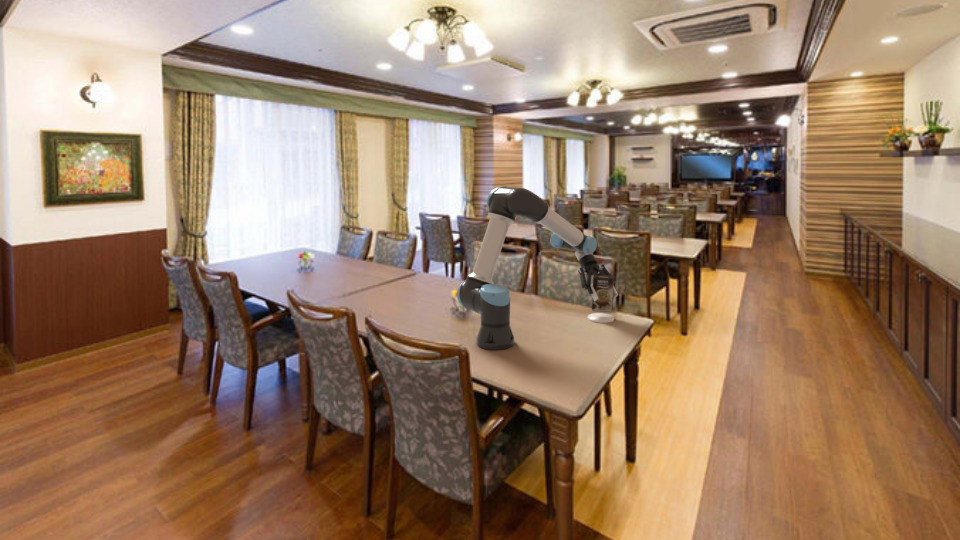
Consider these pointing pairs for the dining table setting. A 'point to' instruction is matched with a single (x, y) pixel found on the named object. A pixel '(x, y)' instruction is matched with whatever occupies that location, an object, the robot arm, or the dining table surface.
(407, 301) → the dining table surface
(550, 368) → the dining table surface
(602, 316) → the plate
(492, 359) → the dining table surface
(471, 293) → the robot arm
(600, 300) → the coffee box
